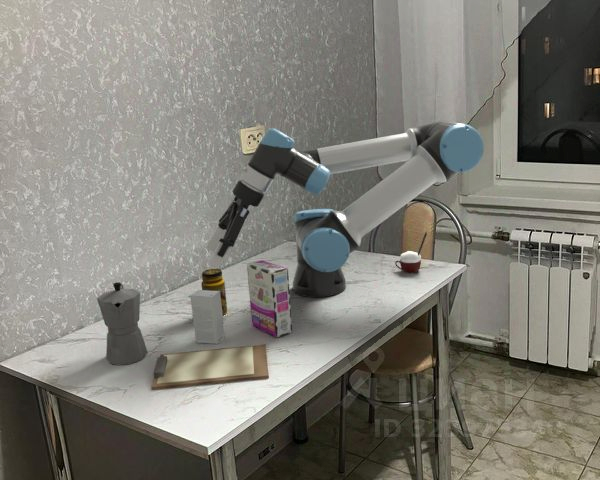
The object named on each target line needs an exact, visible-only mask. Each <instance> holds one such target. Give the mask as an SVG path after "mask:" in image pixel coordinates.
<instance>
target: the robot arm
mask: <svg viewBox="0 0 600 480" xmlns="http://www.w3.org/2000/svg"><path fill="white" fill-rule="evenodd" d="M295 142H296V141H295V140H294V139H293V138H291V137H290V136H288V135H287V134H285V133H284V132H282V131H280V130H278V129H277V128H274V127H270V128H268V130H267V131H266V132H265V134H264V136H263V137H262V138H261V140H260V142H259V143H258V146H257V148H256V149H255V151H254V153H253V154H252V156H251V158H250V160H249V161H248V163H247V165H246V167H243V168H242V171H243V172H242V174H241V176H240V180H238V181H237V182H236V184H235V186H234V188H233V189H232V194H233V195H234V198H233V200H232V202H231V203H230V204H229V206H228V208H227V209H226V210H225V211H224V213H223V214H222V216H221V217H220V219H219V220H218V224H217V227H216V228H215V231H214V232H213V234H212V236H211V237H210V239H209V241H208V242H207V244H206V246H205V249H207V250H208V251H211V252H213V254H212V255H211V256H210V259H209V260H208V262H207V265H209V266H211V267H213V268H214V269H219V267H220V266H221V264H222V262H223V261H224V259H225V257H226V255H227V254H228V252H229V250H230V248H231V247H232V248H233V247H234V246H235V243H236V241H237V239H238V236H239V234H240V232H241V230H242V229H243V226H244V224H245V222H246V219H247V217H248V216H249V214H250V210H249V206H252V207H254V208H257V207H259V206H260V204H261V202H262V201H263V199H264V197H265V195H264V194H265V193H267V192H268V190H269V188H270V187H271V186H272V183H273V182H274V179H276V177H277V175H279V176H281V177H282V178H284V179H285V180H288V181H289V182H291V183H292V184H294V185H296V186H297V187H300V188H301V189H303V190H304V191H305V192H309V193H310V194H312V195H315V196H316V195H319V194H320V193H321V192H322V191H323V190H324V189H325V188H326V186H327V184H328V182H329V179H330V177H331V175H333V174H340V173H345V172H346V173H347V172H350V171H355V170H356V171H357V170H363V169H367V168H372V167H380V166H384V165H385V166H386V165H389V164H391V165H392V164H395V163H401V162H405V163H404V164H402V165H401V166H399V168H397V169H396V170H394V171H393V172H392V173H390V174H389V175H387V176H386V177H385V178H384V179H383V180H381V181H379V182H378V183H377V184H376V185H374V187H372V188H371V189H369V190H368V191H366V192H365V193H364V194H362V195H361V196H360V197H359V198H357V199H355V201H353V202H351V203H350V204H349V205H348V206H346V207H345V208H344V209H343V210H334V209H331V208H317V209H307V210H300V211H297V212H295V214H294V220H293V224H294V229H295V230H294V232H295V243H296V245H295V246H296V247H295V248H296V261H297V264H296V267H295V268H296V269H295V273H294V275H293V280H292V290H293V292H294V293H295V294H296V295H299V296H302V297H307V298H320V297H321V298H322V297H323V298H324V297H329V296H334V295H338V294H340V293H342V292H343V291H345V290H346V288H347V286H346V285H347V283H346V278H345V275H344V272H343V270H342V267H343V266H344V265H345V264H346V263H347V261H348V259H349V257H350V254H351V253H353V252H354V251H356V250H357V249H358V248H359V247H361V244H362V243H361V242H362V239H363V237H365V235H367V234H369V232H371V231H372V230H374V229H375V228H377V227H378V226H379V225H380V224H381V223H383V222H385V220H388V218H390V217H391V216H392V215H393V214H395V213H397V212H398V211H399V210H400V209H401V208H404V206H405V205H408V203H410V202H411V201H412V200H414V199H415V198H416V197H418V196H419V195H420V194H422V193H423V192H424V191H426V190H427V189H428V188H430V187H431V186H432V185H433V184H435V183H438V182H439V183H447V182H448V181H449V180H450V179H452V178H453V177H454V176H455V175H457V174H458V173H460V174H461V173H465V172H466V173H467V172H469V171H471V170H473V169H474V168H476V167H477V165H479V163H480V162H481V160H482V158H483V155H484V149H485V147H484V146H485V145H484V141H483V138H482V135H481V134H480V132H479V131H478V130H477V129H476V128H475V127H473V126H471V125H469V124H467V123H463V122H460V123H458V122H455V121H451V120H440V121H436V122H432V123H429V124H428V123H427V124H423V125H421V126H415V127H409V128H408V129H407V130H406V132H403V133H398V134H397V133H396V134H392V135H387V136H386V135H385V136H381V137H376V138H371V139H364V140H363V139H362V140H358V141H353V142H347V143H342V144H336V145H331V146H326V147H318V148H314V149H308V150H301V149H298V150H297V149H295V148H294V145H295Z"/></svg>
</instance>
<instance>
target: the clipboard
mask: <svg viewBox="0 0 600 480" xmlns="http://www.w3.org/2000/svg"><path fill="white" fill-rule="evenodd" d="M156 359H157V360H156V363H155V366H154V370H153V381H152V384H151V390H154V391H155V390H162V389H173V388H182V387H192V386H193V387H194V386H202V385H213V384H221V383H223V384H225V383H233V382H240V381H241V382H243V381H251V380H252V381H253V380H261V379H270V375H269V366H268V356H267V346H266V343H265V344H255V345H245V346H234V347H233V346H232V347H226V348H225V347H223V348H214V349H206V350H205V349H203V350H191V351H184V352H183V351H181V352H173V353H164V354H163V353H162V354H160V355H159V356H157V357H156Z"/></svg>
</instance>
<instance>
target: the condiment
mask: <svg viewBox="0 0 600 480" xmlns="http://www.w3.org/2000/svg"><path fill="white" fill-rule="evenodd" d="M201 276H202V277H201V280H202V282H201V290H207V291H220V296H221V305H222V314H223V316H224V315H226V314H227V315H228V316H232V315H234V313H232V312H231V311H228V303H227V294H226V286H225V285H226V283H225V282H226V281H225V279H224V278H223V277H224V276H223V271H222V270H221V268H220V269H219V268H218V269H217V268H209V269H205V270H203V271H202V273H201ZM229 314H230V315H229ZM227 315H226V317H228V316H227Z"/></svg>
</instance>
